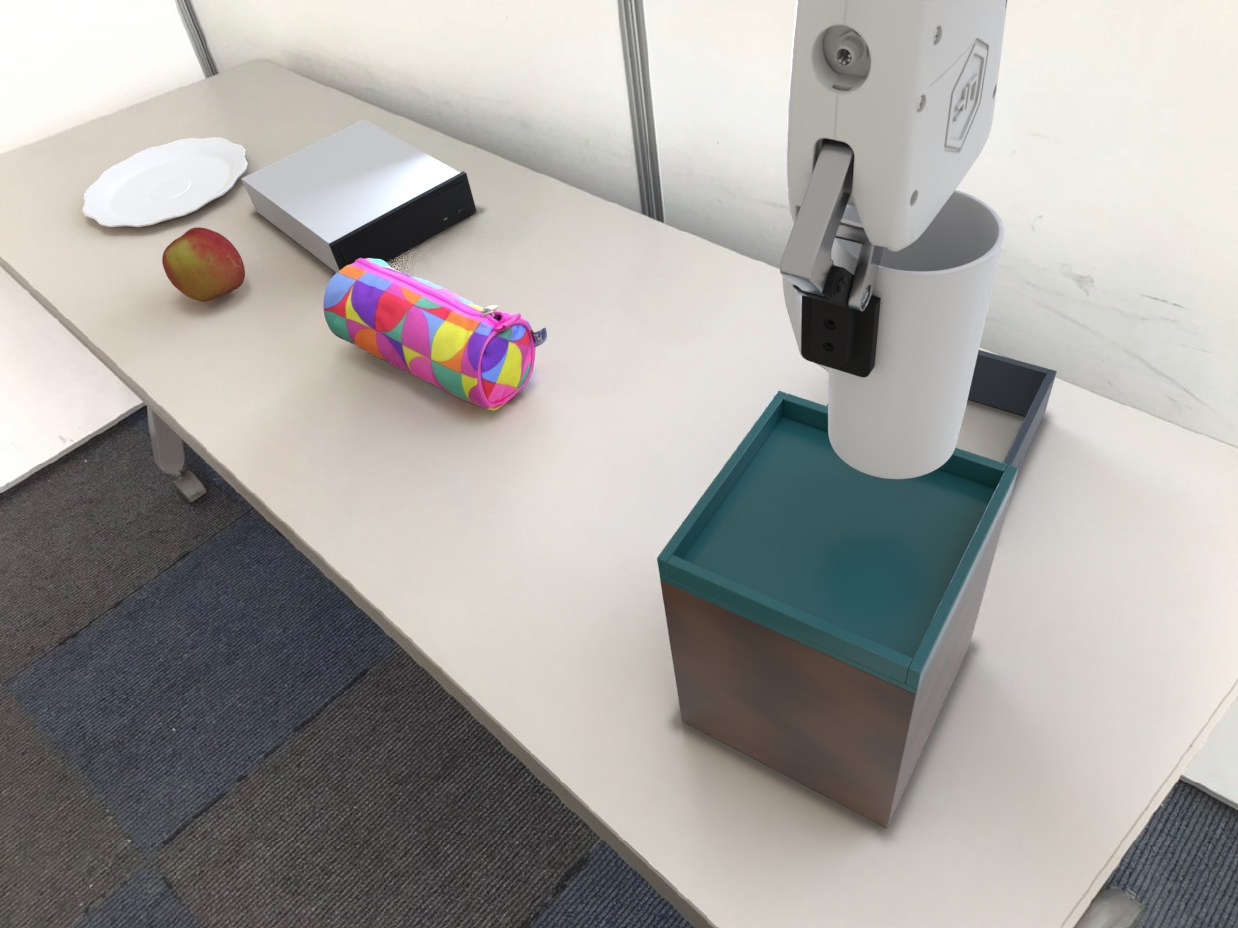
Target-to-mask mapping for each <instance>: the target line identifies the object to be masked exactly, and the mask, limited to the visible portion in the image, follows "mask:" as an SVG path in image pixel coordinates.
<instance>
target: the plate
mask: <svg viewBox="0 0 1238 928" xmlns="http://www.w3.org/2000/svg"><path fill="white" fill-rule="evenodd" d="M246 154H247V150H246V148H244V146H243V145H241V144H238V143H234V142H232V141H230V140H228V139H226V138H224V137H218V136H213V137H204V138H201V137H200V138H198V137H188V138H181V139H177V140H174V141H171V142H168V143H165V144H161V145H156V146H151V147H148V148H146V149H143V150H141V151H138V152H136V153H135V154H133V155H131V156H130V157H128V158H126V159H124V160H122V161H119V162H117V163H116V164H113V165H112V166H110V167H109V168H107V169H106V170H104V171H103V172H102V173H101V175H99V177H98V178H97V180H95V182H93V183H92V184H91V185H90V186H88V187H87V188H86V189H85V191H84V193H83V195H82V196H83V197H82V198H83V201H84V202H83V206H82V208H81V211H82V214H83V215H84V216H85V218H88V219H91V220H93V221H94V220H95V222H97V223H98V224H99V226H103V227H108V228H117V227H135V228H142V227H148V226H153V225H156V224H159V223H164V222H167V221H172V220H175V219H178V218H182V217H185V216H187V215H189V214H192V213H194V212H196V211H198V210H199V209H201V208H204V207H206V206H207V205H208V204H210V203H211V202H213V201H214V200H217V199H218V198H220V197H222V196H224V195H225V194H226V193H228V192H229V191H230V190H231V189H233V187H234V185H235V184H236V182H237V180H238V179H239V178H240V177H241V176H242V175H243V174H244V173H245V172H246V171H247V168H248V166H249V163H248V161H247V159H246Z"/></svg>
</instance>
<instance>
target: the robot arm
mask: <svg viewBox="0 0 1238 928" xmlns="http://www.w3.org/2000/svg"><path fill="white" fill-rule="evenodd" d="M1007 6H1008V0H796V4H795V14H794V25H793V35H792V45H791V46H792V47H791V58H790V59H791V60H790V71H789V87H788V88H789V89H788V102H787V103H788V105H787V122H786V123H787V125H786V128H787V129H786V191H787V192H786V193H787V203H788V211H789V214H790V217H791V220H792V222H793V226H792V229H791V232H790V234H789V237H788V240H787V242H786V246H785V248H784V250H783V254H782V256H781V260H780V263H779V273H780V275H781V276H784V277H785V278H786V279H787V280H788V281H790V282H791V283H792V284H793V287H794V288H795V289H796V290H797V293H798V294H799V295H802V316H801V354H802V356H803V357H802V356H801V357H802V359H804V360H805V361H808V362H810V363H814V364H815V363H817V364H820V365H823V366H826V367H830V368H833V369H836V370H839V371H843V372H846V373H849V374H852V375H856V376H859V377H867V376H868V375H869V374H870V373H871V371H872V370H873V368H874V366H875V356H876V345H877V334H878V323H879V313H880V302H881V298H880V297H876V296H874V295H872V292H873V288H874V284H875V280H876V276H877V272H878V268H879V264H880V260H881V256H882V252H883V247H886V248H888V250H891V251H899V250H902V249H904V248H906V247H907V246H909V245H910V244H912V243H913V242H914V241H916V240H917V239H918V238H919V237H920V236H921V235H922V233H923V232H924V231H925V230H926V228H927V227H928V226H929V224H930V223H931V222H932V221H933V219H934V218H935V217H936V215H937V214H938V212H939V211H940V210H941V208H942V207H943V206H944V204H945V203H946V202H947V200H948V199H949V198H950V196H951V195H952V193H953V192H954V191H955V190H957V188H958V187H959V185H960V184H961V183H962V181H963V179H964V178H965V177H966V175H967V174H968V172H969V171H970V170H971V168H972V166H973V165H974V164H975V162H976V160H977V159H978V158H979V156H980V155H981V153H982V151H983V149H984V148H985V145H986V144H987V142H988V139H989V136H990V133H991V130H992V126H993V119H994V112H995V107H996V98H997V92H998V91H997V90H998V83H999V75H1000V66H1001V58H1002V57H1001V56H1002V49H1003V42H1004V33H1005V24H1006V16H1007V8H1008V7H1007ZM847 205H850V206H855V207H856V209H857V212H858V215H859V218H860V220H861V223H860V222H855V221H851V220H846V219H842V217H843V215H844V212H845V209H846V206H847ZM835 238H838V239H843V240H847V241H851V242H855V243H859V244H861V248H860V252H859V257H858V261H857V265H856V269H855V273H854V275H853V274H852V273H850V272H849V271H848V270H846V269H845V268H843V267H839V266H835V265H834V264H833V262H834V261H833V260H832V257H831V250H832V245H833V242H834V239H835ZM817 364H816V365H817Z"/></svg>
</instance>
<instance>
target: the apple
mask: <svg viewBox="0 0 1238 928" xmlns="http://www.w3.org/2000/svg"><path fill="white" fill-rule="evenodd" d="M161 262H162V263H161V264H162V268H163V270H164V273H165V275H166V277H167V279H169V282H170V283H171V284H172V286H174V287H175V289H176V290H178V291H179V292H180V293H181V294H183V295H184V296H186V297H187V298H189V299H191V300H194V301H197V302H201V303H202V302H204V303H206V302H211V301H213V300H215V299H217V298H220V297H222V296H224V295H227V294H230V293H231V292H233V291H234V290H235V291H236V289H237V290H238V289H240V287H241V286H242V285H243V284H244V282H245V280H246V279H245V278H246V269H245V264H244V261H243V259H242V256H241V254H240V253H239V251H238V249H237V248H236V247H235V245H234V244H233V243H232V242H231V241H230V240H229V239H228V238H226V236H224V235H223V234H221V233H219V232H217V231H214V230H212V229H209V228H206V227H201V226H200V227H199V226H198V227H192V228H189V229H188V230H187V231H186V232H184V233H183V234H182V235H180V236H179V237H177V238H176V239H174V240H172V241H171V242H170V243H169V245H167V246H166V247H165V249H164V251H163V253H162V258H161Z"/></svg>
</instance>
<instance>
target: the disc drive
mask: <svg viewBox="0 0 1238 928" xmlns="http://www.w3.org/2000/svg"><path fill="white" fill-rule="evenodd" d="M241 181H242V183H243V186H244V189H245V190H246V192H247V194H248V196H249V199H250V200H251V203H252V205H253V207H254V209H255V211H256V212H257V213H258V214H259V215H261V216H262V217H263V218H265V220H267V221H269V222H270V223H271V224H272V225H274V226H275V227H276V228H278V229H279V230H280V231H281V232H283V234H285V235H287V236H288V237H289V238H291V239H292V240H293V241H294V242H295V243H297V244H299V245H300V246H301V247H302V248H304V249H305V250H307V252H309V253H310V254H311V255H313V257H315V258H317V259H318V260H319V261H320V262H321V263H323V264H325V266H327V267H328V268H330V269H331V270H332V271H333V272H335V274H336V273H337V272H338V271H340V270H341V269H342V268H344V267H345V266H347V265H350V264H353V263H355V260H357V259H359V258H363V259H366V258H373V259H381V260H383V261H385V262H386V263H388V262H389V261H391V260H393V259H395V258H397V257H398V256H400V255H402V254H404V253H405V252H407V251H409V250H410V249H412V248H414V247H416V246H418V245H419V244H422V243H423V242H425V241H426V240H428V239H430V238H432V237H433V236H435V235H438V234H439V233H441V232H443V231H444V230H446V229H448V228H449V227H451V226H453V225H455V224H456V223H458V222H460V221H462V220H464V219H466V218H468V217H470V216H471V215H473V214H474V213H476V212H477V207H476V203H475V199H474V195H473V192H472V189H471V184H470V181H469V177H468V174H467V172H466V171H464V170H463V171H461V172H460V171H459V170H456V169H454V168H452V167H451V166H449V165H447V164H445V163H443V162H442V161H440V160H439V159H436V158H435V157H433V156H431V155H430V154H428V153H425V151H423V150H420V149H418V148H417V147H415V146H413V145H411V144H410V143H408V142H406V141H404V140H403V139H401V138H399V137H398V136H396V135H394V134H392V133H390V132H388V131H386V130H385V129H383V128H381V127H379V126H378V125H376V124H374V123H372V122H370V121H368V120H367V119H365V118H362V119H359V120H357V121H356V122H354V123H352V124H349V125H348V126H345V127H344V128H342V129H340V130H337V131H334V133H331V134H329V135H327V136H326V137H323V138H321V139H319V140H317V141H315V142H313V143H311V144H308V145H306V146H305V147H303V148H300V149H298V150H296V151H295V152H293V153H290V154H288V155H286V156H284V157H282V158H280V159H278V160H276V161H274V162H272V163H270V164H268V165H266V166H264V167H262V168H259V169H258V170H255V171H254V172H252V173H249V174H247V175H245V176H243V177H241Z"/></svg>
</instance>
